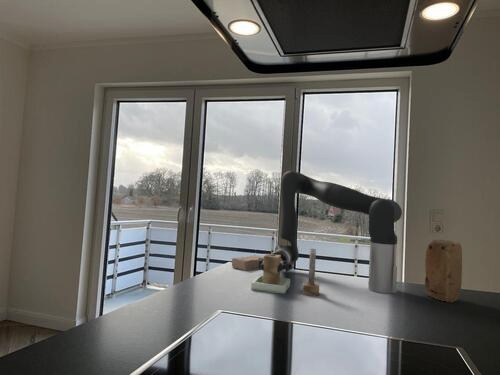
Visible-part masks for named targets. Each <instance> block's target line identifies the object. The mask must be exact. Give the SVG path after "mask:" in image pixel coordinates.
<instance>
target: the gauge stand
mask: <svg viewBox="0 0 500 375" xmlns="http://www.w3.org/2000/svg"><path fill="white" fill-rule="evenodd" d="M316 254H317V249H316V248H310V249H309V261H308V262H309V265H308V281H304V283H303V284H302V295H307V296H314V297H319V294H320V282H319V283H317V282H316V281H315V280H316V279H315V277H316V260H317V259H316V256H317V255H316Z"/></svg>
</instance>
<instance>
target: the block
mask: <svg viewBox="0 0 500 375" xmlns="http://www.w3.org/2000/svg"><path fill="white" fill-rule="evenodd" d="M424 264H425V265H424V269H425V271H424V272H425V278H424V293H425V294H426V295H427V296H428V297H430V298H432V299H434V298H435V300H437V299H438V300H437V301H439V300H441V301H440V302H443V301H446V302H445V303H455V302H454V301H456V302H457V300H458V299H459V296H460V294H461V292H462V282H463V281H462V280H463V279H462V278H463V276H462V275H463V248H462V245H461V243H460V242H454V241H452V240H446V239H433V240H432V241H430V242H429V243H428V245H427V247H426V250H425V259H424Z"/></svg>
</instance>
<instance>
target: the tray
mask: <svg viewBox="0 0 500 375" xmlns="http://www.w3.org/2000/svg"><path fill="white" fill-rule="evenodd" d="M250 283H251V285H250V291H257V292H258V291H259V292H265V293H266V292H267V293H274V294H275V293H276V294H282V295H285V294H286V293H287V291H288V290H289V289H290V287H291V278H288V277H287V278H285V277H280V283H279V284H278V285H274V284H266V283H263V275H258V276H257V277H255V279H254V280H253V281H252V282H250Z"/></svg>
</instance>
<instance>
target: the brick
mask: <svg viewBox="0 0 500 375" xmlns="http://www.w3.org/2000/svg"><path fill="white" fill-rule="evenodd" d="M264 256H265V255H264ZM264 256H263V255H256V254H255V255H254V254H253V255H249V256H248V255H247V256H245V257H244V256H241V257H232V258H231V266H232V268H235V269H238V270H243V271H250V270H255V269H259V268H258V258H262V259H263V260H264Z"/></svg>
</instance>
